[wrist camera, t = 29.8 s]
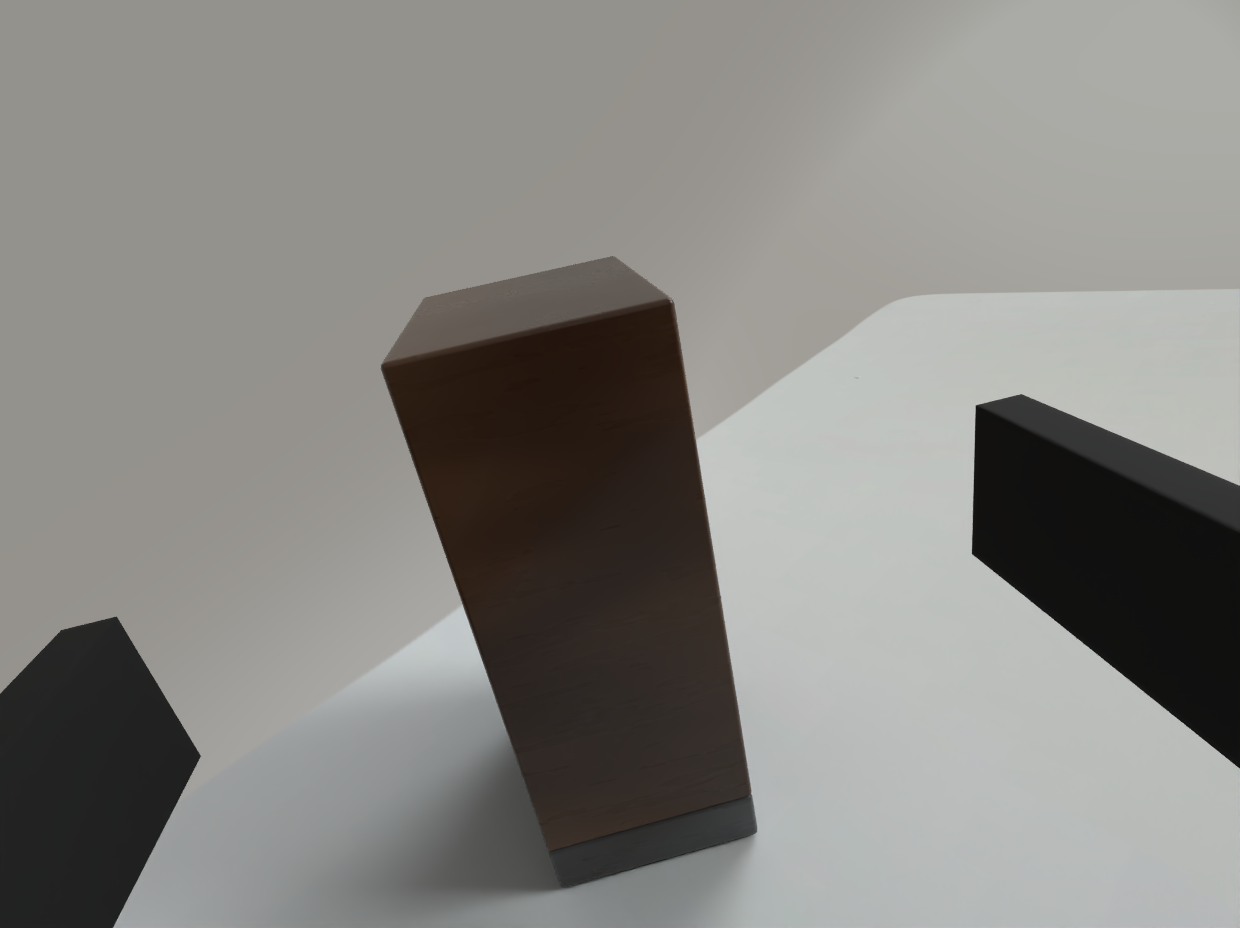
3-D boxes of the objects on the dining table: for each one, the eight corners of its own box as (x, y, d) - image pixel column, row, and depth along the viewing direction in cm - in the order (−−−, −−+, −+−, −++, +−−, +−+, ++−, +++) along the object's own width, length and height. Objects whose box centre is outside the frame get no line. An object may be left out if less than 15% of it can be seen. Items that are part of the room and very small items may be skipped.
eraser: (561, 890, 15) (378, 364, 10) (545, 698, 20) (422, 297, 16) (758, 834, 15) (674, 297, 10) (691, 660, 21) (615, 255, 16)
